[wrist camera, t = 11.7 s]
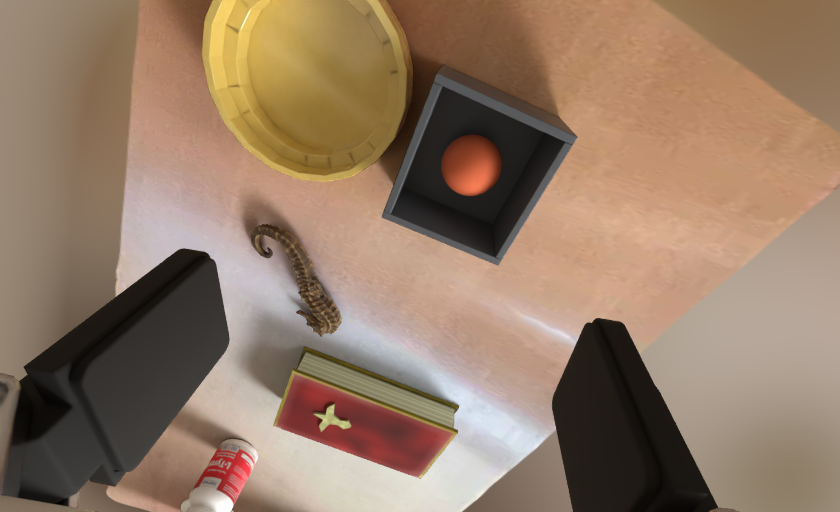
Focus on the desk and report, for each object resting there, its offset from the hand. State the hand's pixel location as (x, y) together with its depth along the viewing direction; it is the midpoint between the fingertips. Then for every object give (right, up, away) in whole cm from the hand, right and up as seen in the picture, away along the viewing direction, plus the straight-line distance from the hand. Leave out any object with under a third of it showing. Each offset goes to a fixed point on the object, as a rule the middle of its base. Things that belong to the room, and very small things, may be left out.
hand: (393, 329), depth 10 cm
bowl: (-7, +17, +22) cm, 29 cm away
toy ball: (+5, +10, +23) cm, 26 cm away
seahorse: (-12, -1, +33) cm, 35 cm away
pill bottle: (-28, -29, +52) cm, 65 cm away
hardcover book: (-6, -18, +42) cm, 47 cm away
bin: (+5, +11, +24) cm, 27 cm away
